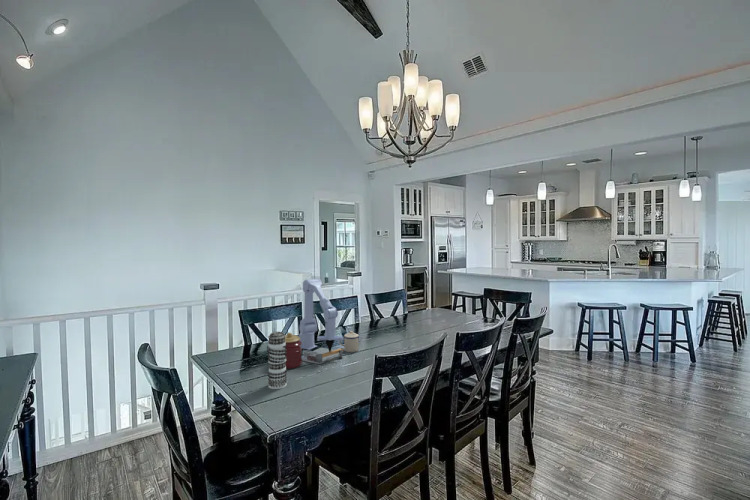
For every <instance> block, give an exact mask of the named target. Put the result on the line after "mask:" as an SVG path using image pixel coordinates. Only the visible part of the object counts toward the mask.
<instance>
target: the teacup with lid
mask: <svg viewBox="0 0 750 500" xmlns="http://www.w3.org/2000/svg"><path fill="white" fill-rule="evenodd" d="M359 336H360V335H359V334H357V333H355V332H354V331H353V330H350V331H349V332H348V333H345V334H344V336H343V343H344V344H342V341H338V343H339V344H340V346H341V347H343V348H345V351H344V352H346V353H355V352H358V351H359Z"/></svg>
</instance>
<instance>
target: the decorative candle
mask: <svg viewBox="0 0 750 500" xmlns="http://www.w3.org/2000/svg"><path fill="white" fill-rule="evenodd" d="M286 335H287V334H285V333H284V332H282V331H273V332H271V333H270V334H269V335H268V336H267V337H268V345H267V346H266V349H267V351H266V352H267V354H266V355H267V362H268V372H267V373H268V375H267V378H268V379H267V380H268V382H267V384H268V388H269V389H271V390H279V389H280V390H281V389H284V388H285V387H286V386H287V385H288V384H287V381H288V379H287V378H288V377H287V371H288V369H287V368H286V366H285V362H286V358H287V357H286V356H285V355H286V354H287V352H286V351H287V349H286V347H287V345H286V342H285V336H286Z"/></svg>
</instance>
